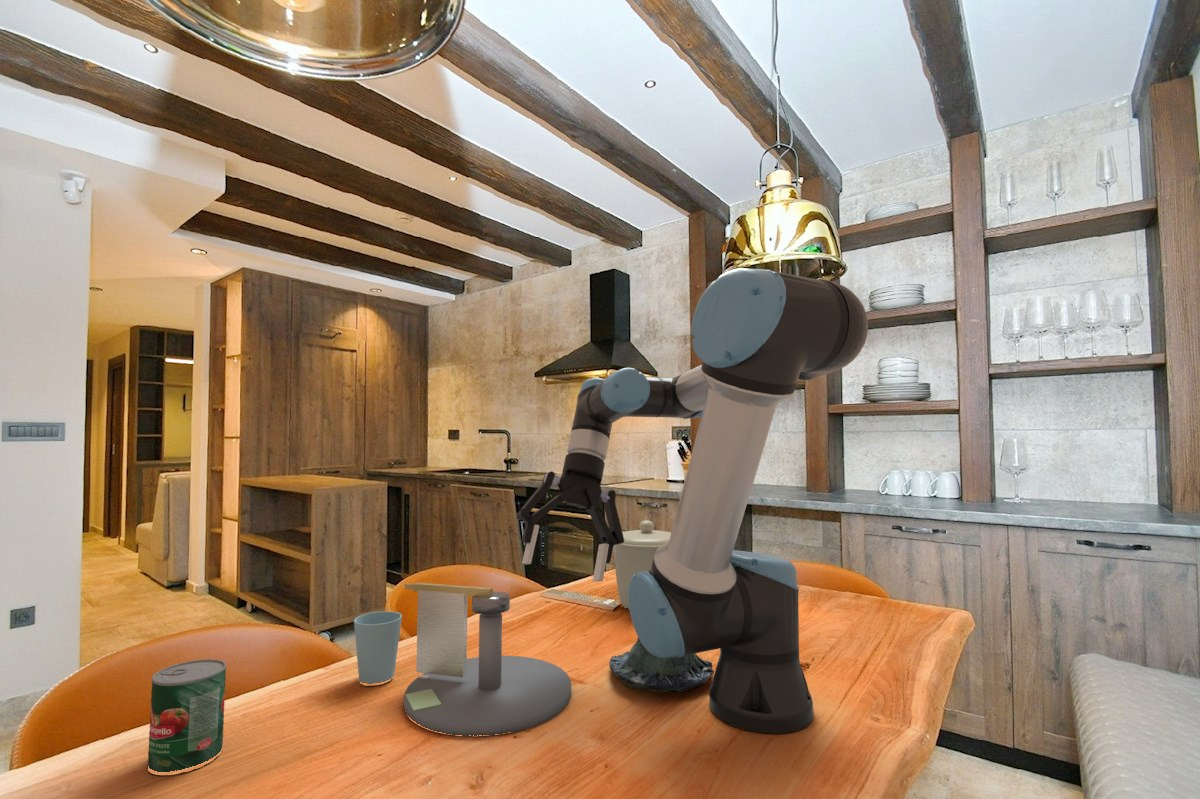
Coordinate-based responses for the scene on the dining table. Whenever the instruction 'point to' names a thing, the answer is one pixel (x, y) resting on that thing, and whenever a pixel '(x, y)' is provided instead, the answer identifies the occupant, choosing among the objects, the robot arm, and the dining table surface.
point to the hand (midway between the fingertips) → (562, 572)
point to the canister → (636, 555)
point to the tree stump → (660, 670)
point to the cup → (377, 645)
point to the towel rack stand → (449, 624)
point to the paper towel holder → (489, 691)
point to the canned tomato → (186, 714)
